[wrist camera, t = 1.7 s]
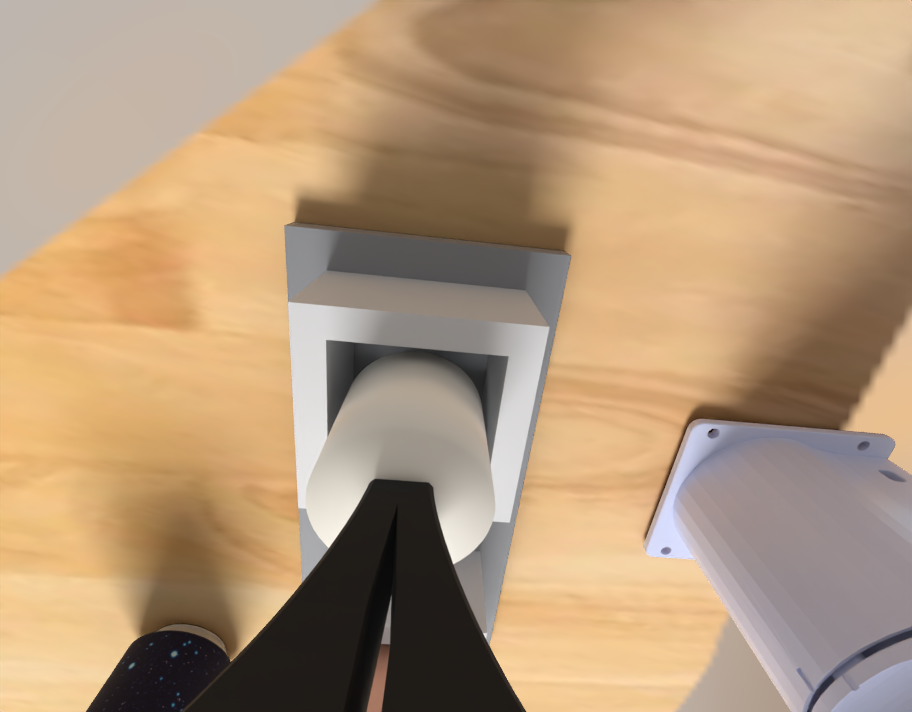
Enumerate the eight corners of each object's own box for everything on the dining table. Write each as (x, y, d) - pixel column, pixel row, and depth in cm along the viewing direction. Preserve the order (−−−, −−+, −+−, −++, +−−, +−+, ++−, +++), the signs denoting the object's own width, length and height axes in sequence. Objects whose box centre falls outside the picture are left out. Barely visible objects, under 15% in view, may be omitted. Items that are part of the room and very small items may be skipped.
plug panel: (564, 250, 16) (610, 283, 12) (483, 646, 25) (492, 752, 21) (294, 222, 16) (229, 244, 11) (311, 637, 25) (280, 744, 20)
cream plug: (490, 358, 13) (508, 436, 9) (473, 473, 15) (482, 580, 11) (345, 345, 13) (302, 419, 9) (345, 464, 15) (308, 569, 11)
